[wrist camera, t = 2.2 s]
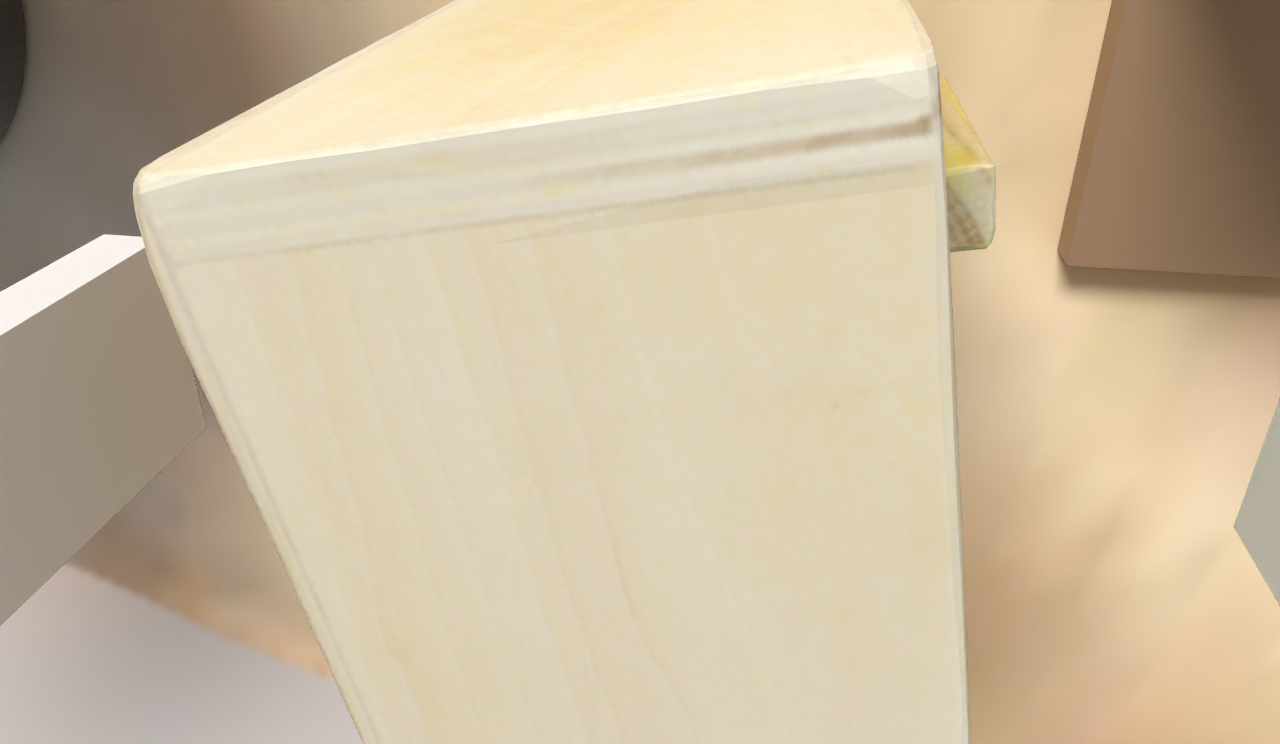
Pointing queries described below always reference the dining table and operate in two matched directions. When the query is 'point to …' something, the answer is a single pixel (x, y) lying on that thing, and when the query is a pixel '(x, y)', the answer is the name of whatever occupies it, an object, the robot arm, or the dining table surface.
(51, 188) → the dining table surface
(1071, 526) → the dining table surface
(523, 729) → the toy refrigerator
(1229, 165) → the cleat board
